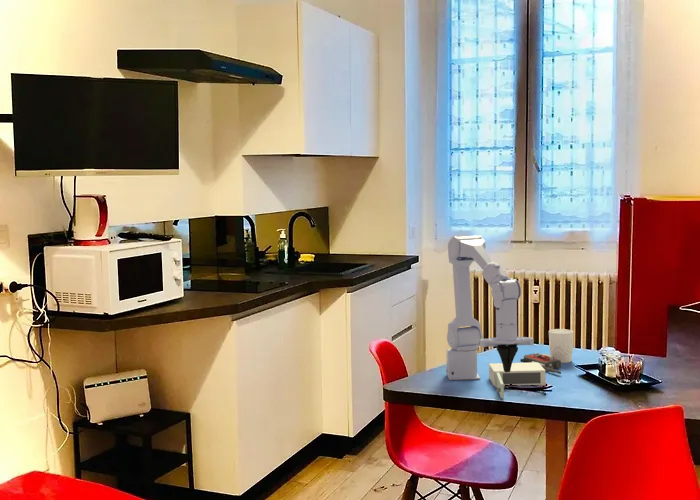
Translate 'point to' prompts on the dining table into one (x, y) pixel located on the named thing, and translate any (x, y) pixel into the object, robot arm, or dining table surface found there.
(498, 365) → the device housing
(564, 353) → the white cup
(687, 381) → the dining table surface
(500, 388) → the side door
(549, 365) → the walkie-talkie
